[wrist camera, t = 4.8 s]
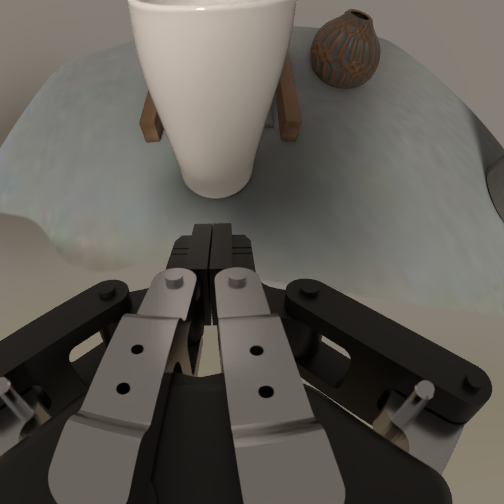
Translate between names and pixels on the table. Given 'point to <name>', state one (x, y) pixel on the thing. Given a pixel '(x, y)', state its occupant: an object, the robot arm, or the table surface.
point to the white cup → (212, 80)
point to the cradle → (286, 115)
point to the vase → (346, 50)
